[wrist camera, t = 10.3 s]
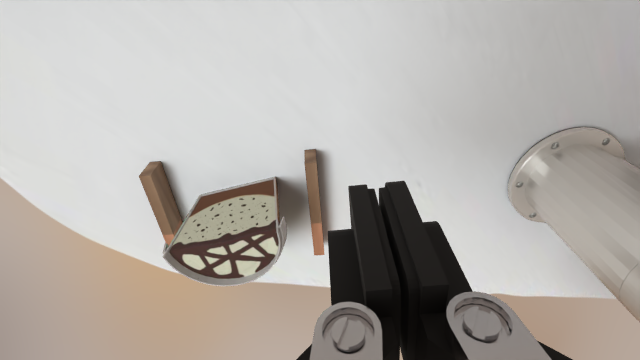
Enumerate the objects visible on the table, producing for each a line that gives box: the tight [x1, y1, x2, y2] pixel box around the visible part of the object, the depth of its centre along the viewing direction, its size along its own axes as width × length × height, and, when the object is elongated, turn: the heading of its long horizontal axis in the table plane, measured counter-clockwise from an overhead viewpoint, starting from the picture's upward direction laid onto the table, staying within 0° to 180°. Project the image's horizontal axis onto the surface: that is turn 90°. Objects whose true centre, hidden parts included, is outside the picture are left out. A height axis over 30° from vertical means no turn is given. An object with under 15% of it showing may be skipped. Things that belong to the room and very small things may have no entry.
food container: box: [163, 177, 287, 286], centre depth 38 cm, size 12×6×10 cm, turn 104°
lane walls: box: [139, 149, 324, 255], centre depth 40 cm, size 18×13×3 cm
